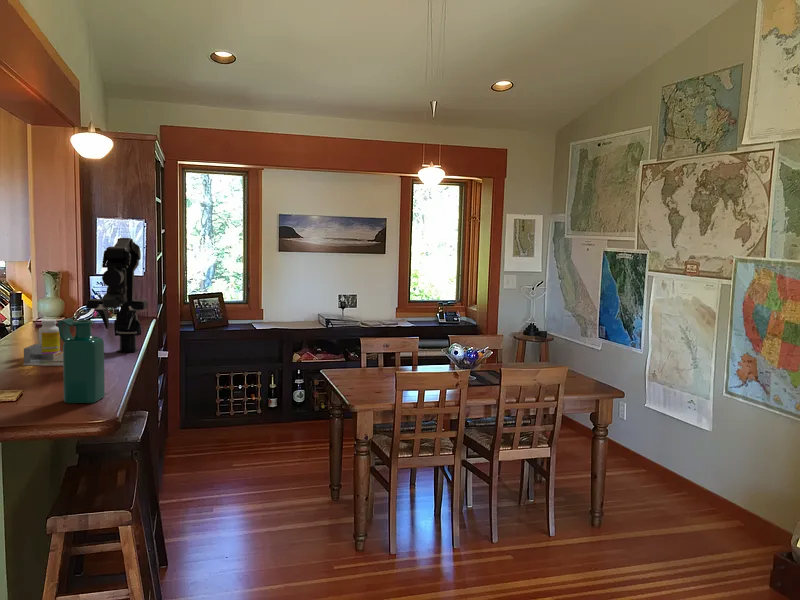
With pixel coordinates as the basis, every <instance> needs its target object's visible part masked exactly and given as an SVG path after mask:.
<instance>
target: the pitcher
mask: <svg viewBox="0 0 800 600" xmlns="http://www.w3.org/2000/svg"><path fill="white" fill-rule="evenodd" d="M57 324H58V325H57V327H58V328H59V334H60V340H62V341H63V344H62V352H63V366H62V372H63V402H64V403H65V404H76V403H91V404H95V403H97V402H98V401H100V400H101V398H102V399H104V398H105V394H106V393H105V391H106V389H105V342H104V338H102V337H99V336H96V335H95V336H94V335H92V325H93V324H95V321H94V320H92V319H91V320H89V319H80V320H79V319H78V320H74V319H73V318H71V317H69V318H65V319H64V318H63V319H61V320H58V321H57ZM70 327H75V332H76V333H75V335H74V336H73V335H72V333H71V331H70ZM96 401H97V402H96ZM94 402H95V403H94Z"/></svg>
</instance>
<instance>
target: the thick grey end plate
mask: <svg viewBox="0 0 800 600" xmlns="http://www.w3.org/2000/svg"><path fill="white" fill-rule="evenodd" d="M53 361H63V351H60V352H56V353H54V354H53Z"/></svg>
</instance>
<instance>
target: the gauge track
mask: <svg viewBox="0 0 800 600" xmlns="http://www.w3.org/2000/svg"><path fill="white" fill-rule="evenodd" d="M22 364H23V365H22V366H44V367H45V366H49V367H50V366H52V367H53V366H55V367H56V366H58V367H60V366H62V367H63V361H53V354H42V344H39V343H35V344H32V345H29V346H27V347H25V348H24V347H23V363H22Z"/></svg>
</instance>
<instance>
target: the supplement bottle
mask: <svg viewBox="0 0 800 600" xmlns="http://www.w3.org/2000/svg"><path fill="white" fill-rule="evenodd" d="M40 322H41V325H42V326H41V327H39V328H38V344H42V354H54V353H56V352H61V337H60V334H59V327H58V326H57V319H41V321H40Z"/></svg>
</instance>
